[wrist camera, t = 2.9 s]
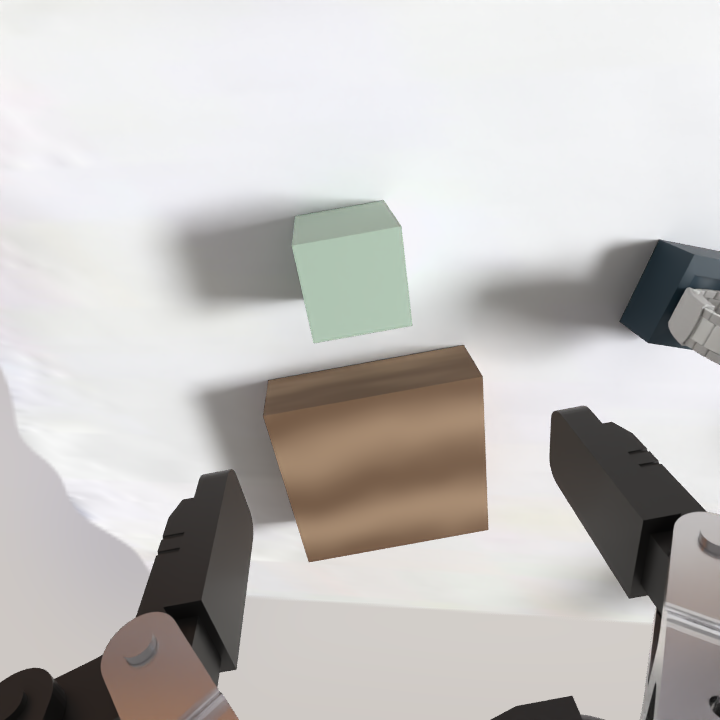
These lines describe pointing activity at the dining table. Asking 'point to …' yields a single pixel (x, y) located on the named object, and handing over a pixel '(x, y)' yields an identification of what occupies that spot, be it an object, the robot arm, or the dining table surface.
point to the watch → (678, 300)
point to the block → (352, 271)
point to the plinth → (382, 451)
